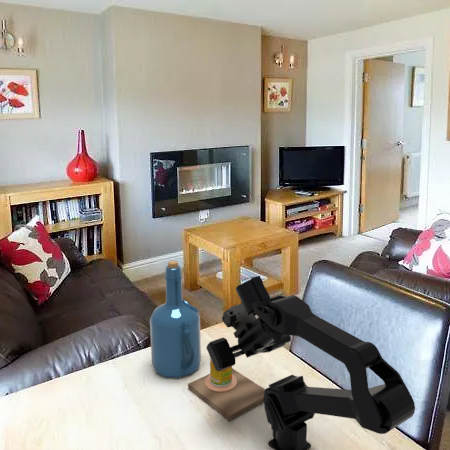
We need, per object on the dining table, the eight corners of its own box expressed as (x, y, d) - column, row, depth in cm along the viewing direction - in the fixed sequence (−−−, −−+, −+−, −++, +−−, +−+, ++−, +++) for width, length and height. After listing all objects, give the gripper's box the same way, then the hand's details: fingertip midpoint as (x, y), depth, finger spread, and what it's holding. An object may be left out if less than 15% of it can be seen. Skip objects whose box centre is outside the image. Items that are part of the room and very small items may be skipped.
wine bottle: (169, 386, 116) (164, 274, 109) (143, 364, 126) (137, 260, 119) (212, 367, 125) (210, 262, 117) (184, 348, 135) (181, 250, 127)
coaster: (243, 383, 115) (243, 382, 115) (218, 396, 110) (218, 394, 110) (223, 370, 121) (223, 368, 120) (198, 381, 116) (198, 380, 116)
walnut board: (270, 398, 111) (270, 392, 111) (229, 421, 103) (229, 415, 103) (228, 370, 123) (228, 365, 123) (188, 389, 115) (188, 383, 115)
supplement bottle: (222, 390, 111) (221, 354, 109) (205, 382, 115) (205, 346, 112) (236, 380, 115) (236, 345, 113) (220, 372, 119) (220, 338, 116)
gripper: (278, 288, 106) (248, 316, 117) (210, 308, 95) (185, 337, 107) (301, 332, 101) (268, 357, 113) (233, 359, 91) (204, 383, 102)
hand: (232, 357), depth 109 cm, fingers open, 9 cm apart
